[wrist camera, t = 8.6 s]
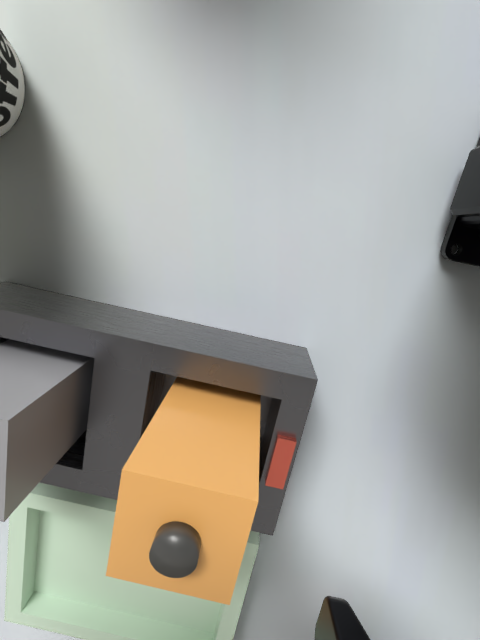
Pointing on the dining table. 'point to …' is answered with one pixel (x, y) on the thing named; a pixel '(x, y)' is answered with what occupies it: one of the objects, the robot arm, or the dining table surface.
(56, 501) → the tray
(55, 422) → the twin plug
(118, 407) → the strip
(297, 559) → the dining table surface
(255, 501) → the plug
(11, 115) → the cup
